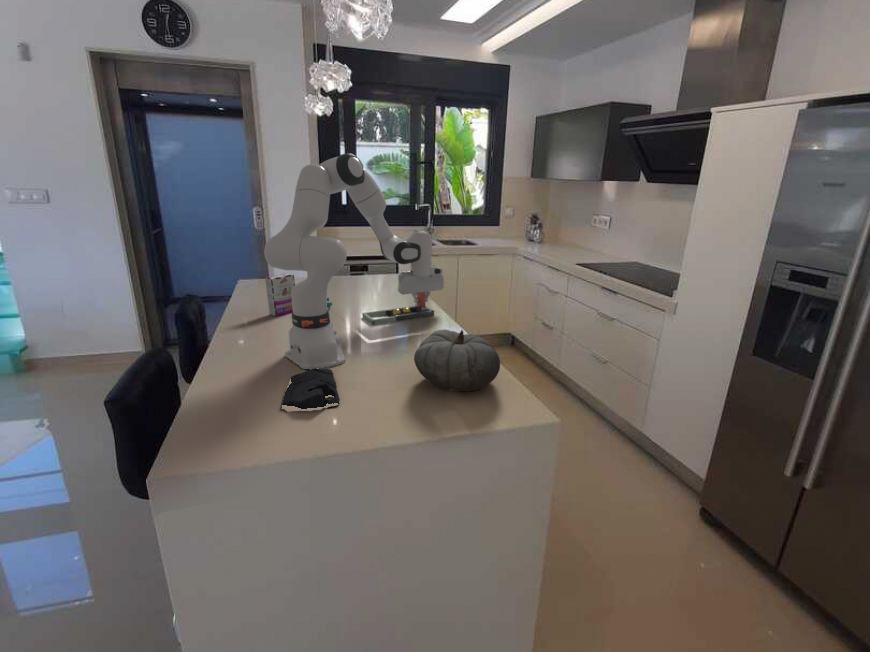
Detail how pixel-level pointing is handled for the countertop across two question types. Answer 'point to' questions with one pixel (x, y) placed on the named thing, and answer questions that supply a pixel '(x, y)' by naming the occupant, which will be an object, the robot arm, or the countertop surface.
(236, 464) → the countertop surface
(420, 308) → the red-brown bar
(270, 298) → the candy bar box
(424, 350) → the gourd
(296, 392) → the dark slate chunk
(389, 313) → the tray
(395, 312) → the shiny gold ball
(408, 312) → the yellow-brown round piece
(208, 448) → the countertop surface
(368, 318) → the tray
